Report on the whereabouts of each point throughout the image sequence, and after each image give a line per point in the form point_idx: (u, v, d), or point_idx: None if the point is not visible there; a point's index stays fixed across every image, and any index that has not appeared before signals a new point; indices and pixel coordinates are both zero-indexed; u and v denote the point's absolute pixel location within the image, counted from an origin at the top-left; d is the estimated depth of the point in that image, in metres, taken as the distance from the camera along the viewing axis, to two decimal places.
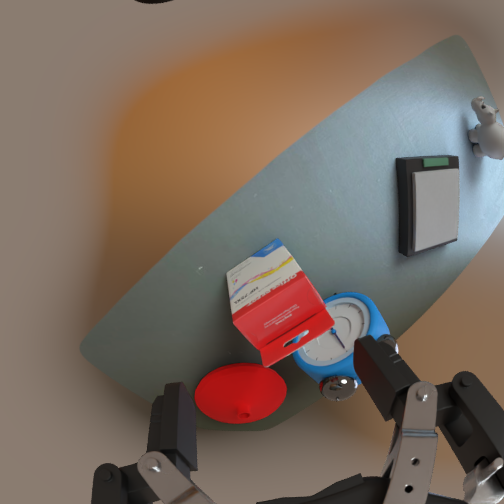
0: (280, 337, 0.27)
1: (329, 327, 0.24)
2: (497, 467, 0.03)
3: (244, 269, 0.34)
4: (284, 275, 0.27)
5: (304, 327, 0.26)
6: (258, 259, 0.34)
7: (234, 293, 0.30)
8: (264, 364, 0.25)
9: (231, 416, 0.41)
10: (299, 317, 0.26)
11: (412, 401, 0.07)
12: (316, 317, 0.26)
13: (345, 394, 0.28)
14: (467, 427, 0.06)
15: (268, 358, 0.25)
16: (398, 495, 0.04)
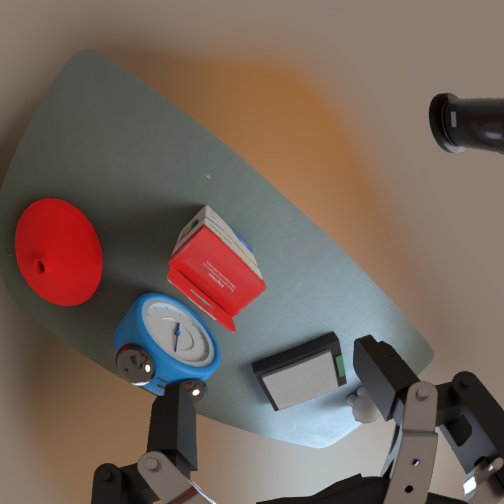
0: (191, 283, 0.24)
1: (230, 329, 0.23)
2: (497, 467, 0.03)
3: (222, 223, 0.32)
4: (252, 266, 0.27)
5: (212, 304, 0.25)
6: (234, 234, 0.33)
7: (210, 219, 0.28)
8: (168, 276, 0.21)
9: (28, 250, 0.27)
10: (220, 295, 0.25)
11: (412, 401, 0.07)
12: (223, 312, 0.25)
13: (136, 376, 0.24)
14: (467, 427, 0.06)
15: (174, 278, 0.22)
16: (398, 495, 0.04)
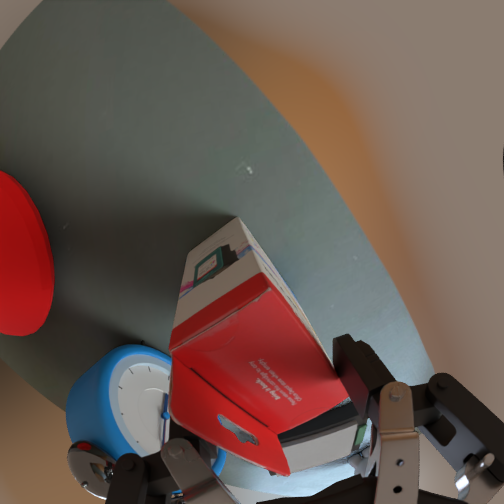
0: (214, 391, 0.10)
1: (284, 473, 0.09)
2: (488, 463, 0.03)
3: (265, 256, 0.18)
4: (325, 352, 0.14)
5: (251, 427, 0.11)
6: (280, 276, 0.19)
7: (257, 252, 0.14)
8: (174, 407, 0.07)
9: None
10: (267, 409, 0.11)
11: (386, 402, 0.07)
12: (267, 433, 0.11)
13: (103, 495, 0.09)
14: (449, 426, 0.07)
15: (186, 403, 0.08)
16: (388, 496, 0.04)
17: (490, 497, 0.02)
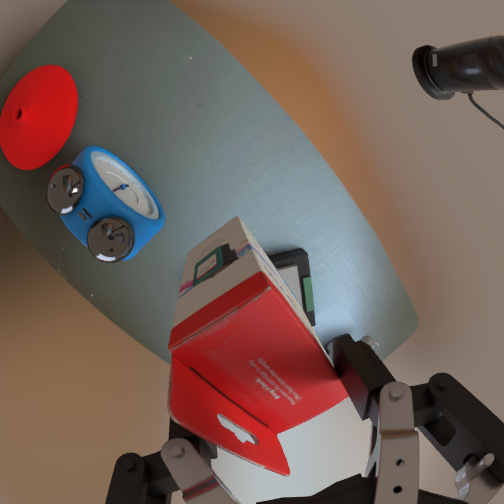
0: (213, 390, 0.10)
1: (284, 472, 0.09)
2: (488, 463, 0.03)
3: (265, 255, 0.18)
4: (325, 351, 0.14)
5: (251, 427, 0.11)
6: (280, 276, 0.19)
7: (257, 251, 0.14)
8: (173, 406, 0.07)
9: (12, 108, 0.22)
10: (267, 409, 0.11)
11: (386, 402, 0.07)
12: (267, 433, 0.11)
13: (60, 191, 0.19)
14: (449, 426, 0.07)
15: (185, 402, 0.08)
16: (387, 497, 0.04)
17: (490, 497, 0.02)
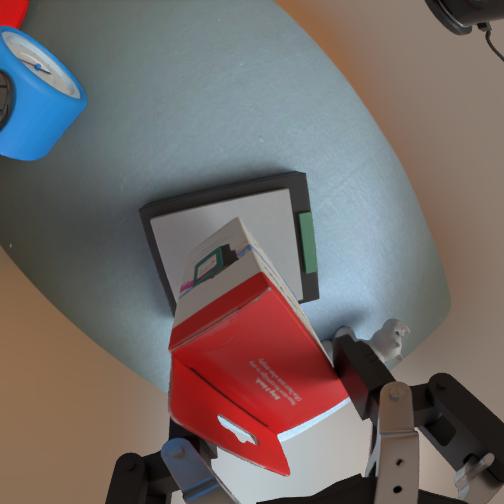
0: (214, 391, 0.10)
1: (284, 472, 0.09)
2: (488, 463, 0.03)
3: (265, 255, 0.18)
4: (325, 352, 0.14)
5: (251, 427, 0.11)
6: (280, 276, 0.19)
7: (257, 252, 0.14)
8: (174, 407, 0.07)
9: None
10: (267, 409, 0.11)
11: (386, 402, 0.07)
12: (267, 433, 0.11)
13: None
14: (449, 426, 0.07)
15: (186, 403, 0.08)
16: (387, 497, 0.04)
17: (490, 497, 0.02)
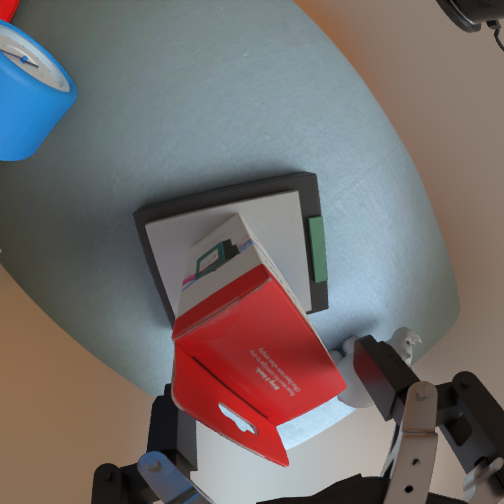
0: (215, 380, 0.11)
1: (283, 463, 0.10)
2: (497, 467, 0.03)
3: (265, 251, 0.19)
4: (323, 344, 0.14)
5: (251, 417, 0.11)
6: (280, 272, 0.20)
7: (258, 246, 0.15)
8: (177, 393, 0.08)
9: None
10: (267, 400, 0.12)
11: (412, 401, 0.07)
12: (266, 424, 0.12)
13: None
14: (467, 427, 0.06)
15: (188, 389, 0.08)
16: (398, 495, 0.04)
17: None
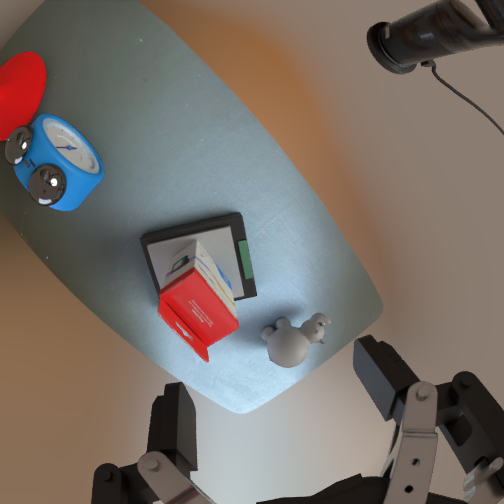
0: (176, 315, 0.28)
1: (204, 358, 0.27)
2: (497, 467, 0.03)
3: (209, 260, 0.36)
4: (229, 306, 0.31)
5: (191, 335, 0.28)
6: (218, 271, 0.37)
7: (199, 259, 0.31)
8: (159, 310, 0.24)
9: None
10: (199, 328, 0.28)
11: (412, 401, 0.07)
12: (200, 342, 0.29)
13: (13, 143, 0.18)
14: (467, 427, 0.06)
15: (163, 311, 0.25)
16: (398, 495, 0.04)
17: None
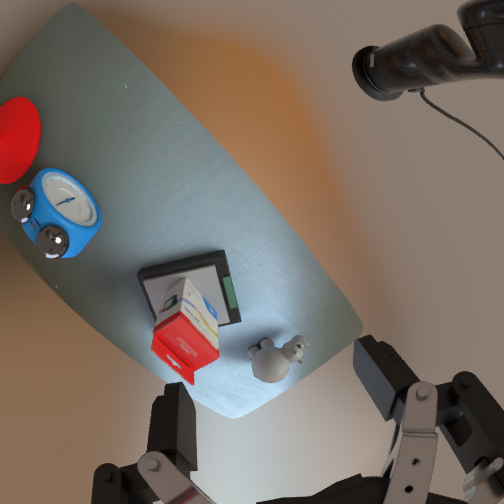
0: (167, 347, 0.33)
1: (190, 382, 0.32)
2: (497, 467, 0.03)
3: (196, 296, 0.41)
4: (212, 339, 0.36)
5: (180, 363, 0.33)
6: (204, 305, 0.41)
7: (185, 299, 0.36)
8: (152, 347, 0.29)
9: None
10: (186, 357, 0.34)
11: (412, 401, 0.07)
12: (188, 368, 0.34)
13: (18, 207, 0.23)
14: (467, 427, 0.06)
15: (156, 347, 0.30)
16: (398, 495, 0.04)
17: None
